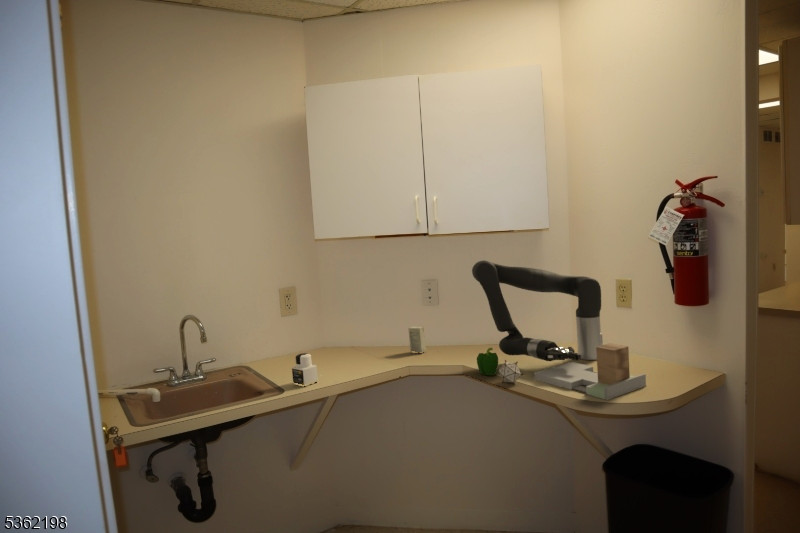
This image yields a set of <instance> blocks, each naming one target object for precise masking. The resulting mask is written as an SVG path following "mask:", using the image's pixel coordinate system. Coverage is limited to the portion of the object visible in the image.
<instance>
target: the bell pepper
mask: <svg viewBox="0 0 800 533" xmlns="http://www.w3.org/2000/svg"><path fill="white" fill-rule="evenodd" d="M490 351H493V347H488V348H487V350H486V352H485V353H483V352H479V353H478V355H477V357H476V364H477V369H478V370H479V372H480V374H481V375H485V376H494V375H496V373H497V372H498V371H497V369H498V366H499V356H498V354H497V352H490Z"/></svg>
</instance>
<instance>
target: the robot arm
mask: <svg viewBox="0 0 800 533" xmlns="http://www.w3.org/2000/svg"><path fill="white" fill-rule="evenodd" d="M471 272H472V277H473V278H474V279H475V280H476V281H477V282H478V283H479V285H480V286H481V287H482V289H483V292H484V293H485V296H486V298H487V301H488V305H489V309H490V313H491V316H492V317H491V318H492V319H493V321H494V324H495V326H496V329H497V331H498V332H500V333H505V332H507V334H508V335H506V336H505V337H503V338H502V339H500V340H499V343H498V347H499V350H500V351H501V352H502V353H503V354H505V355H508V356H526V357H533V358H535V359H538V360H543V361H546V362H553V361H566V360H568V361H570V360H573V361H581V360H587V361H588V360H589V361H595V360H596V361H597V351H596V347H598V346H601V345H604V343H603V333H601V310H602V288H601V285H600V282H599V281H598V280H597V279H595V278H593V277H589V276H578V275H577V276H576V275H564V274H559V273H556V272H552V271H550V270H545V269H540V268H539V269H538V268H534V267H525V266H524V267H523V266H508V265H504V264H503V265H502V264H499V263H496V262H495V263H494V262H491V261H489V260H480V261H477V262H475V263H474V264H473V266H472V268H471ZM501 284H505V285H508V286H511V287H513V288H514V287H515V288H517V289H522V290H525V291H531V292H537V293H561V294H565V295H568V296H573V297H576V298H577V300H578V302H577V308H576V310H575V320H576V322H575V323H576V325H575V326H576V343H577V352H575V349H574V348H573V347H572V346H568V347H567V348H565V347H563V346H558V345H557V343H556V342H555V341H553V340H547V339H543V338H531V337H524V336H523V334H522V333H521V331H520V330H519V329H518V327H517V326H516V325H515V323H514V321H513V318H512V316H511V313H510V311H509V308H508V306H507V303H506V301H505V298H504V295H503V293H502V290H501V286H500V285H501Z"/></svg>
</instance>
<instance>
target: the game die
mask: <svg viewBox="0 0 800 533" xmlns="http://www.w3.org/2000/svg"><path fill="white" fill-rule="evenodd" d="M518 362H519V361H518V360H517V361H516V362H509V361H507V360H506V359H504V363H503V364H502V365H501V367H499V369H498V368H497V371H496V372H498V373H499V375H500V377H501V380H502V381H501V383H502V384H503V383H504V382H506V383H511V384H513V385H514V386H515V385H516V384H515V383H516V381H517V380H519V378H520V376H524V373H521V370H520V367H519V366H518Z"/></svg>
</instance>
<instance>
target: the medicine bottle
mask: <svg viewBox="0 0 800 533" xmlns="http://www.w3.org/2000/svg"><path fill="white" fill-rule="evenodd" d="M291 373H292V383H293V382H294V383H298V384H302V385H305V384H308V383H310V382H313V381H316V380H318V381H319V378H318V366H317V365H316V364H313V363H312V355H311V354H310V353H308V352H304V353H299V354H297V355H296V356H295V366H292V368H291Z"/></svg>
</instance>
